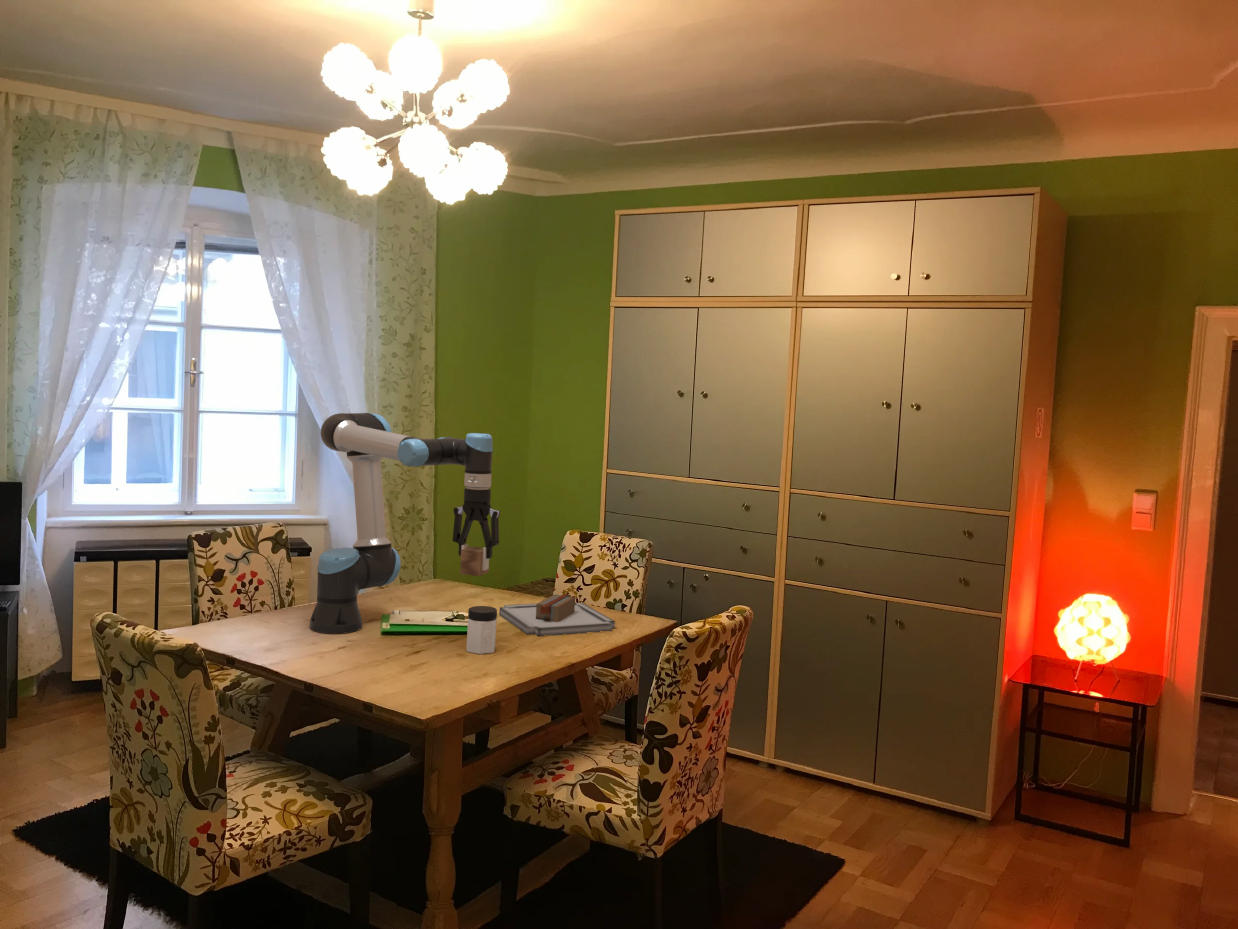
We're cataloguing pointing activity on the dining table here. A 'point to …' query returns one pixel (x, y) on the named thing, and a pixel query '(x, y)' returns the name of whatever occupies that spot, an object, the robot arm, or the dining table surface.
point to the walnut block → (472, 561)
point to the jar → (481, 629)
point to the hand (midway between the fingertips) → (474, 568)
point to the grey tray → (556, 617)
